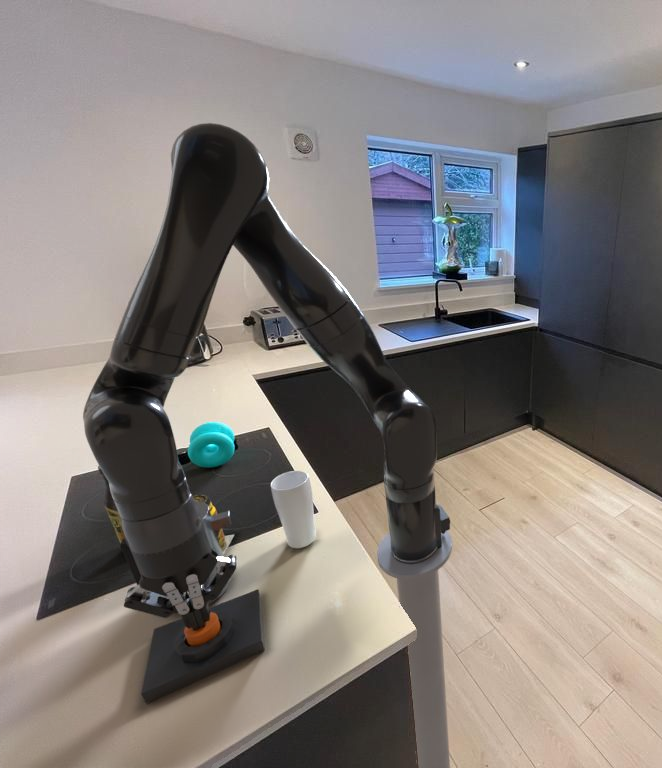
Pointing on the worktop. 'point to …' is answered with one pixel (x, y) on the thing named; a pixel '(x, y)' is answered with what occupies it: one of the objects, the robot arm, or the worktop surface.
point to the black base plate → (203, 647)
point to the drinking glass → (295, 507)
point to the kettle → (210, 527)
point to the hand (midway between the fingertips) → (199, 623)
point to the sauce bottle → (112, 509)
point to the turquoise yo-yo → (211, 444)
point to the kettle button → (203, 632)
